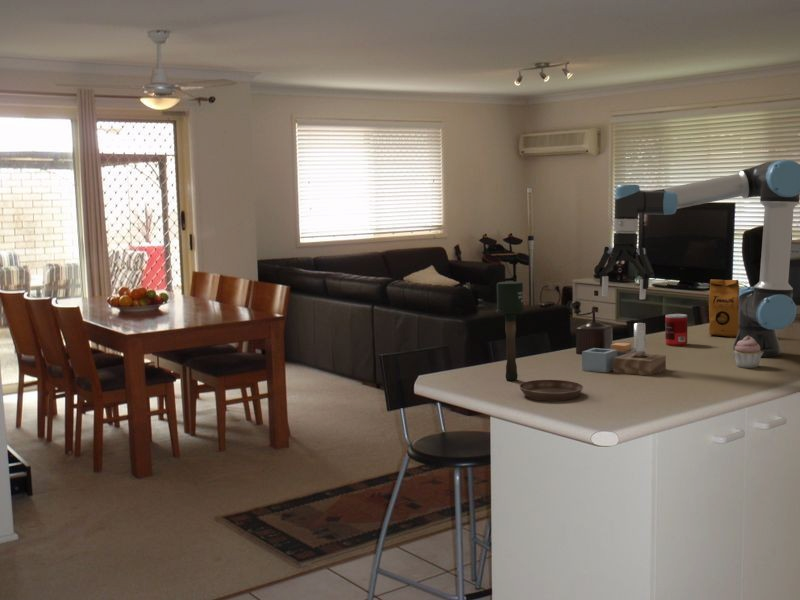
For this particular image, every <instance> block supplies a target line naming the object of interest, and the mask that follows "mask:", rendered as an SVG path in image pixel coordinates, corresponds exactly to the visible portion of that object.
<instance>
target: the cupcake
mask: <svg viewBox="0 0 800 600" xmlns="http://www.w3.org/2000/svg"><path fill="white" fill-rule="evenodd" d="M731 352H732V355H733V356H734V359H735V365H736V367H738V368H742V369H757V368H759V366H760V362H761V358H762V357H761V356H762V354H763V352H762V351H760V346H759V344H758V343H757V342H756V341H755V340H754V339H753V338H752V337H750V336H746V337H745V338H743V340H740V341H738V342H737V345H736V346H735V350H734V351H733V350H732V351H731Z"/></svg>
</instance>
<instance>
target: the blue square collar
mask: <svg viewBox="0 0 800 600" xmlns="http://www.w3.org/2000/svg"><path fill="white" fill-rule="evenodd" d="M615 357H617V350H613V349H600V348H592V349H589V350H586V351H582V354H581V370H582V371H588V372H596V373H598V372H599V373H608V372H611V371H614V358H615Z"/></svg>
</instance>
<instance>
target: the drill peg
mask: <svg viewBox="0 0 800 600" xmlns="http://www.w3.org/2000/svg"><path fill="white" fill-rule="evenodd" d="M633 348H634V358H646V354H647V353H646V323H645V322H644V323H643V322H635V323H633Z"/></svg>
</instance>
